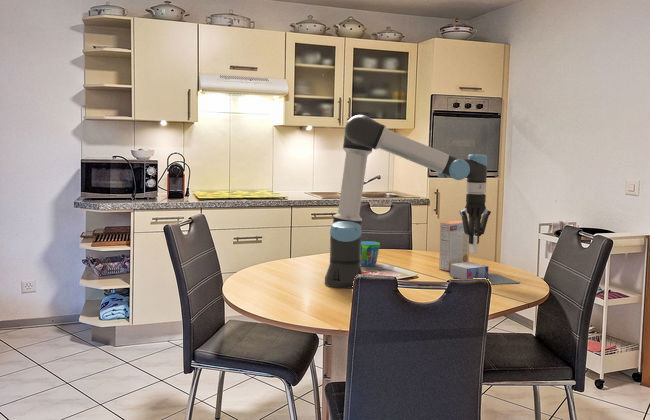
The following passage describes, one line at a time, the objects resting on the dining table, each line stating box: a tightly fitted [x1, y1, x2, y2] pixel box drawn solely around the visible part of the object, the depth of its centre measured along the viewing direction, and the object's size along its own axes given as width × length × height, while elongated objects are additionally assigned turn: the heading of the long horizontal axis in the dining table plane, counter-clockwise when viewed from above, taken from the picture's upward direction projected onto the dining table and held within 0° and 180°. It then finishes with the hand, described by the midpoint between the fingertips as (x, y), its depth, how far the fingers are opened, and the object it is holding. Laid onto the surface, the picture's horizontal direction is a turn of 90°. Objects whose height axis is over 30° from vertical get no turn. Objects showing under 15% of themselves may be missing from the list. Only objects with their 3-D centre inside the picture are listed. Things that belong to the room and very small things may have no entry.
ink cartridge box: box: [449, 261, 490, 280], centre depth 241 cm, size 10×6×14 cm
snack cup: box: [360, 240, 381, 267], centre depth 265 cm, size 16×10×10 cm
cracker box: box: [438, 220, 470, 272], centre depth 260 cm, size 14×6×21 cm, turn 130°
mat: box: [486, 272, 521, 285], centre depth 240 cm, size 20×18×1 cm
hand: (473, 251), depth 238 cm, fingers closed
